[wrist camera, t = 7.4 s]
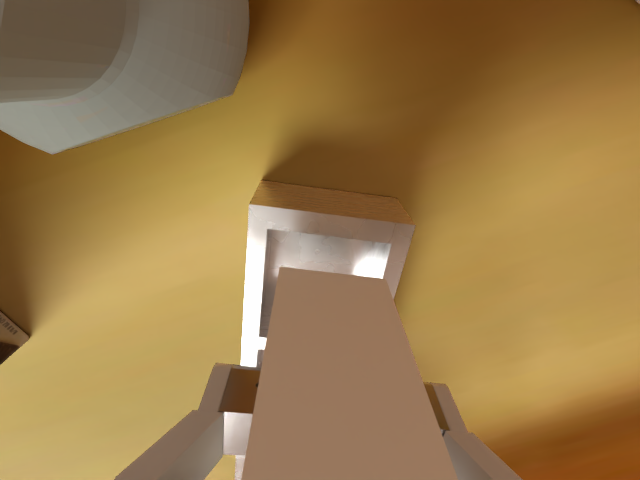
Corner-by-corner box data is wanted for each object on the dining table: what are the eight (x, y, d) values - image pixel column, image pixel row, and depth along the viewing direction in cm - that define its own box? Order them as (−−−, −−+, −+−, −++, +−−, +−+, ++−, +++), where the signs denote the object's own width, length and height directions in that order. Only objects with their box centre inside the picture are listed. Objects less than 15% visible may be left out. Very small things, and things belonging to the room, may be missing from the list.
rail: (242, 463, 27) (207, 656, 18) (261, 180, 16) (199, 301, 8) (326, 469, 27) (333, 658, 19) (396, 198, 17) (489, 331, 8)
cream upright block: (279, 266, 13) (219, 597, 5) (385, 278, 13) (504, 608, 5) (269, 357, 15) (216, 696, 7) (361, 366, 15) (416, 698, 7)
